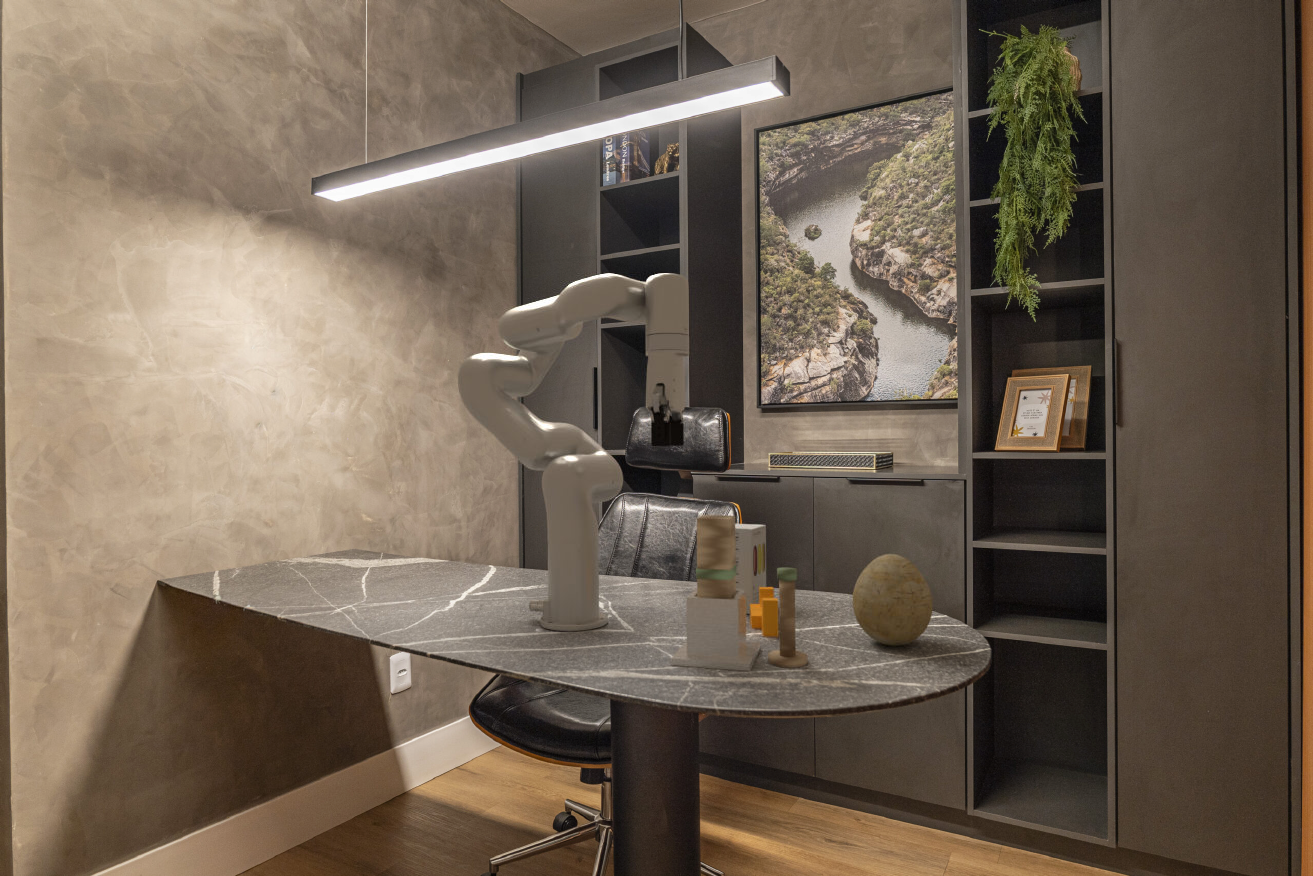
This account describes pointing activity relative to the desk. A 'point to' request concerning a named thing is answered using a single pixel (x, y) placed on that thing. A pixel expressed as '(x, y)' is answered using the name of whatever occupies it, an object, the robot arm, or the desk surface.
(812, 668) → the desk surface
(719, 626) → the sleeve
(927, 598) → the fossilized egg
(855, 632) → the desk surface
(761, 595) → the pipe clamp
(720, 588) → the column
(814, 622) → the desk surface
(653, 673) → the desk surface
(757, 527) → the supplement box
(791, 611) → the marker post
